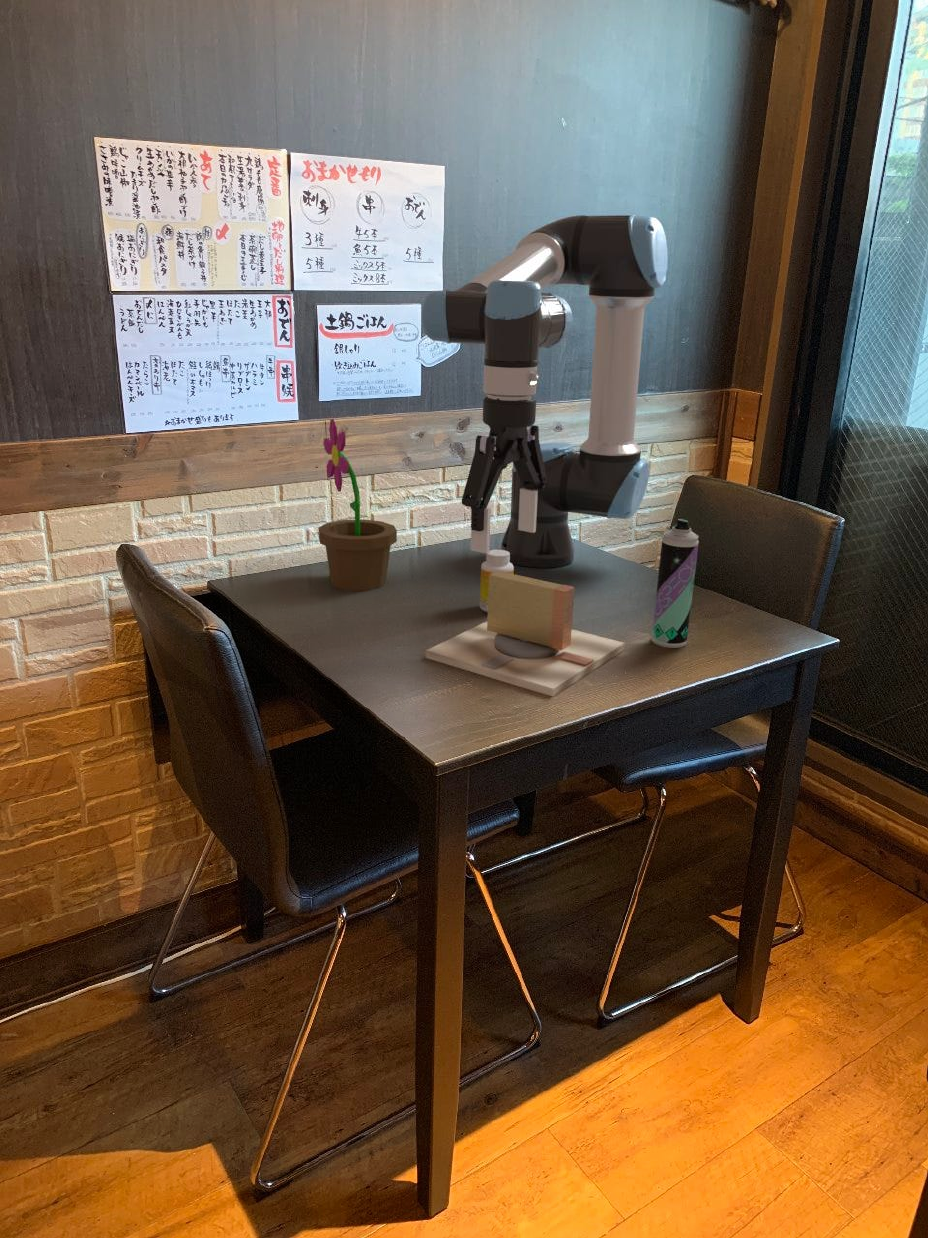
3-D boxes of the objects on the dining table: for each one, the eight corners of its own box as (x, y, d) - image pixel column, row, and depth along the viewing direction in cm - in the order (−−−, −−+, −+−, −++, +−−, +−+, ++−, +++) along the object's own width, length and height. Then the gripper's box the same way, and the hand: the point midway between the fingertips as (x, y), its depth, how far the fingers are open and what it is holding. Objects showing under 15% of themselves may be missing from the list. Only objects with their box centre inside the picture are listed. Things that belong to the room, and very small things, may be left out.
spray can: (645, 637, 150) (657, 516, 143) (673, 633, 152) (687, 514, 145) (664, 649, 146) (677, 525, 139) (693, 645, 147) (708, 522, 141)
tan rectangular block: (486, 632, 144) (489, 574, 140) (496, 627, 146) (498, 570, 143) (561, 651, 137) (566, 591, 134) (570, 646, 139) (574, 587, 136)
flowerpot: (308, 575, 176) (304, 415, 165) (379, 567, 182) (378, 412, 172) (334, 598, 164) (331, 426, 154) (409, 589, 170) (410, 423, 160)
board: (505, 618, 157) (506, 605, 156) (624, 650, 145) (625, 635, 144) (425, 657, 140) (426, 642, 139) (552, 696, 128) (553, 680, 127)
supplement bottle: (491, 616, 157) (494, 558, 154) (473, 607, 162) (475, 550, 158) (518, 611, 160) (521, 554, 157) (499, 602, 165) (501, 546, 161)
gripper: (485, 408, 120) (480, 565, 128) (573, 389, 139) (565, 527, 147) (437, 403, 124) (436, 556, 131) (530, 385, 143) (524, 519, 151)
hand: (504, 541), depth 139 cm, fingers open, 13 cm apart
